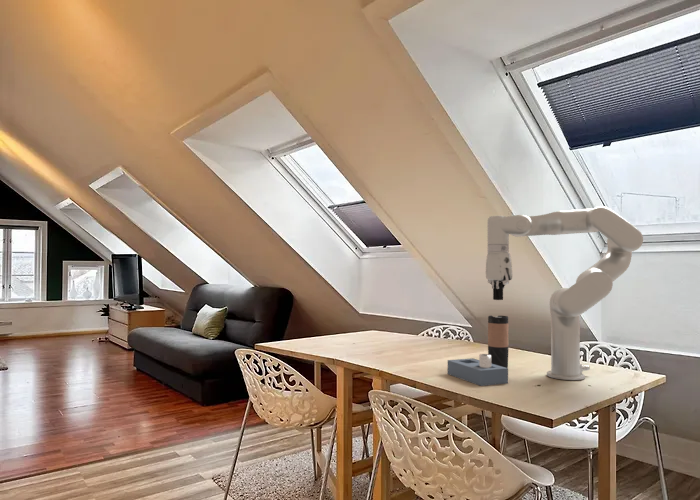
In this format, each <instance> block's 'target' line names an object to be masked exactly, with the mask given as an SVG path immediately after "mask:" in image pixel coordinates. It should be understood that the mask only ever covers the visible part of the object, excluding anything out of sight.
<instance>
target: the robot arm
mask: <svg viewBox="0 0 700 500" xmlns="http://www.w3.org/2000/svg"><path fill="white" fill-rule="evenodd" d="M486 228H487V229H486V231H487V233H486V234H487V236H486V237H487V240H486V241H487V247H486V248H487V255H486V260H485V278H486V279H487V284H490V285H491V289H492V300H494V301H503V299H504V289H505V286H506V285H509V283H510V281H512V279H513V264H512V257H511V254H510V252H509V251H510V250H509V249H510V247H509V246H510V245H509V244H510V240H509V237H510V236H509V235H511V236H512V237H517V238H518V237H519V238H521V237H532V236H533V237H534V236H545V235H546V236H557V235H558V236H560V235H572V234H574V235H575V234H587V233H598V232H599V233H600V234H602V235H603V236H605V237H606V238H607V239H606V244H607V251H606V253H605V255H604V256H603V257H602V258H600V259H599V260H598V261H597V262H596V263H594V264H593V265H591V266H590V267H588V268H587V269H586V270H584V271H582V272H581V273H580V274H579V275H578V276H577V278H576V280H575V283H574V284H573V285H571V286H569V287H561V288H558V289H555V290H554V291H553V293H552V294H551V296H550V298H549V312H550V338H551V339H550V348H551V349H550V352H551V353H550V354H551V355H550V356H551V357H550V360H551V361H550V362H551V363H550V364H551V365H550V366H551V367H550V370H548V371H546V376H547V377H549V378H552V379H557V380H563V381H580V380H581V381H582V380H584V379H586V377H585V376H586V374H584V373H583V372H584V371H589V370H591V366H590V365H589V364H582V363H581V351H580V349H581V348H580V347H581V344H580V343H581V342H580V341H581V340H580V337H581V335H580V334H581V326H580V325H581V324H580V316H581V315H582V314H584V313H586V312H587V311H589V309H591V308H592V307H594V306H596V305H597V304H598V303H599V302H601V301H602V300H603V299H605V298H606V297H607V296H608V295H609V294H610V293H611V292H612V289H613V284H614V282H615V281H616V280H617V279H618V278H619V277H621V276H622V275H623V274H624V273H625V272H626V271H627V270H628V268H629V267H630V264H631V262H632V256H633V255H632V253H633V252H634V251H637V250H639V249H640V248H641V246H643V244H644V237H643V234H642V232H641V230H639V229H638V228H637V227H636V226H635V225H633V224H632V223H630V222H629V221H628V220H626V219H625V218H623V217H622V216H621V215H619V214H618V213H617V212H615V211H614V210H613V209H611V208H609V207H607V206H604V205H602V206H601V205H600V206H596V207H594V208H583V209H571V210H567V209H566V210H558V211H552V212H549V213H545V214H539V215H531V216H529V215H528V216H527V215H525V214H515V215H508V216H506V215H491V216H489V217H488V218H487V227H486Z"/></svg>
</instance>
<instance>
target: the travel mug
mask: <svg viewBox="0 0 700 500" xmlns="http://www.w3.org/2000/svg"><path fill="white" fill-rule="evenodd" d="M487 320H488V321H487V322H488V323H487V354H490V355H491V364H495V365H498V366H502V367H505V368H508V369H509V346H510V345H509V316H508V315H498V316H493V315H488V316H487Z"/></svg>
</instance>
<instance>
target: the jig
mask: <svg viewBox="0 0 700 500" xmlns="http://www.w3.org/2000/svg"><path fill="white" fill-rule="evenodd" d="M447 375H450V376H451V377H455V378H458V379H461V380H463V381H466V382H470V383H472V384H475V385H478V386H479V387H484V386H494V385H503V384H509V367H508V368H505V367H502V366H498V365H495V364H491V368H485V369H483V368H480V367H479V359H477V358H476V359H475V358H472V357H471V358H460V359H459V358H458V359H447Z"/></svg>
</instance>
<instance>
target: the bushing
mask: <svg viewBox="0 0 700 500" xmlns="http://www.w3.org/2000/svg"><path fill="white" fill-rule="evenodd" d="M478 357H479V358H478V360H479V367H480V368H483V369H485V368H491V355H490V354H488V353H479V356H478Z"/></svg>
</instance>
